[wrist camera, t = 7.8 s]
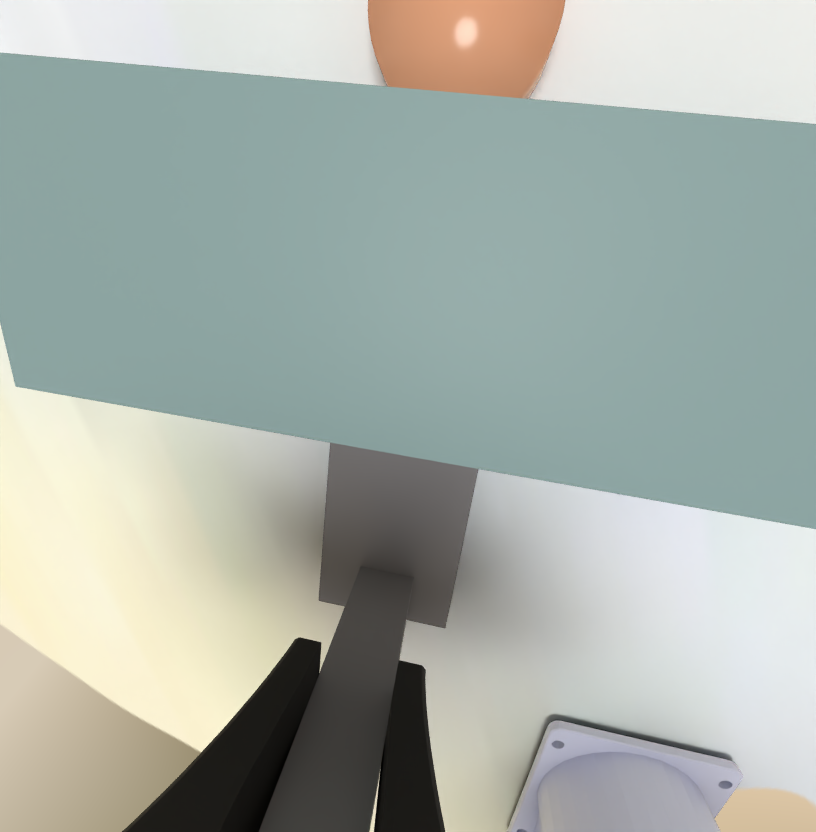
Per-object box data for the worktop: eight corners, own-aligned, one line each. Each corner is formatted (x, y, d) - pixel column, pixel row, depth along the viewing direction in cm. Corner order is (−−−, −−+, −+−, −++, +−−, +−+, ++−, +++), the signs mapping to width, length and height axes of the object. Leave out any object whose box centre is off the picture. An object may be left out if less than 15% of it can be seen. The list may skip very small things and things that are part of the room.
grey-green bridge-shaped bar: (719, 450, 12) (849, 535, 8) (148, 356, 14) (16, 386, 10) (828, 206, 10) (1097, 148, 6) (123, 131, 12) (-67, 46, 7)
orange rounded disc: (526, 152, 10) (537, 131, 9) (373, 133, 11) (358, 109, 9) (572, -63, 9) (594, -132, 7) (393, -76, 9) (379, -145, 8)
